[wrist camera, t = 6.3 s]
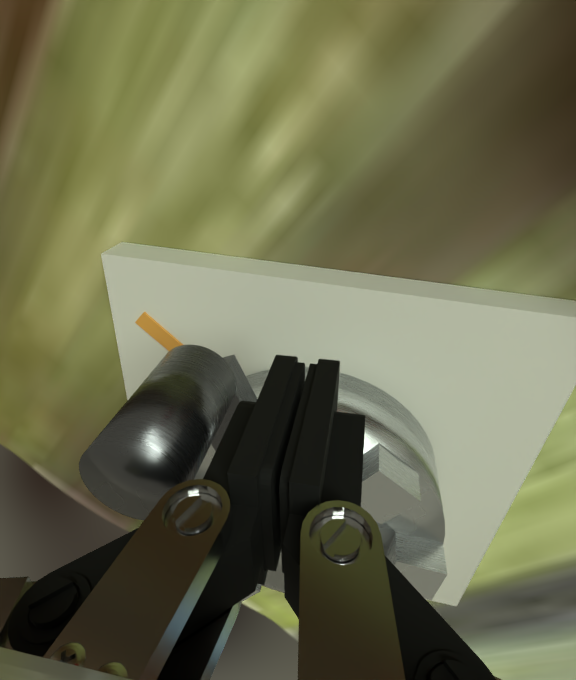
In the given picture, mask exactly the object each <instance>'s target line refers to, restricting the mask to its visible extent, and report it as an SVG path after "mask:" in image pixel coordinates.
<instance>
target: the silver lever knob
mask: <svg viewBox="0 0 576 680" xmlns="http://www.w3.org/2000/svg"><path fill="white" fill-rule="evenodd" d="M308 369H309V367H305V380H306V376H307V373H308ZM269 370H270V369H269ZM269 370H264V371H260V372H257V373H254V374H251V375H248V376H245V374H244V372H243V370H242V368H241V366H240V364H239V363H238V361H237V359H236V357H235V355H230V356H226V357H223V358H222V357H221V356H220V355H219V354H217V353H216V352H214V351H212V350H210V349H208V348H205V347H202V346H198V345H181V346H178V347H175V348H173V349H171V350H170V351H169V352H168V353H167V354H166V355H165V356H164V357H163V359H162V360H161V361H160V362H159V364H158V365H157V366H156V367H155V368H154V370H153V371H152V372H151V373H150V374H149V376H148V377H147V378H146V379H145V380H144V382H143V383H142V384H141V385H140V386H139V388H138V389H137V390H136V391H135V392H134V394H133V395H132V396H131V397H130V398H129V400H128V401H127V402H126V403H125V404H124V406H123V407H122V408H121V409H120V410H119V412H118V413H117V414H116V415H115V416H114V418H113V419H112V420H111V421H110V422H109V424H108V425H107V426H106V427H105V428H104V430H103V431H102V432H101V433H100V434H99V436H98V437H97V438H96V439H95V440H94V442H93V443H92V444H91V445H90V446H89V448H88V449H87V450H86V451H85V452H84V454H83V455H82V457H81V459H80V462H79V471H80V475H81V478H82V480H83V482H84V483H85V485H86V487H87V488H88V489H89V491H90V492H91V493H92V494H93V495H94V496H95V497H96V498H97V499H98V500H100V501H101V502H102V503H103V504H105V505H106V506H108V507H109V508H111V509H113V510H115V511H117V512H119V513H121V514H123V515H126V516H129V517H132V518H135V519H140V520H145V519H146V517H147V516H148V515H149V513H150V512H151V511H152V509H153V508H154V507H155V505H156V504H157V503H158V501H159V500H160V499H161V498H162V497H163V496H164V494H165V493H166V492H167V491H168V490H170V489H171V488H173V487H175V486H176V485H178V484H180V483H183V482H185V481H188V480H195V479H203V478H204V476H205V473H206V471H207V469H208V467H209V465H210V463H211V461H212V458H213V456H214V454H215V452H216V450H217V448H218V446H219V444H220V441H221V439H222V437H223V435H224V433H225V431H226V429H227V427H228V424H229V422H230V420H231V418H232V416H233V414H234V412H235V409H236V407H237V405H238V404H239V402H240V401H250V402H257V399H258V397H259V394H260V392H261V390H262V387H263V385H264V382H265V380H266V377H267V375H268V373H269ZM337 412H344V413H353V414H361V415H365V434H364V454H363V475H362V495H361V507H362V508H363V509H364V510H366V511H367V512H368V513H369V514H371V516H372V517H373V519H374V520H375V521H376V523H377V524H378V527H379V530H380V533H381V536H382V542H383V549H384V555H385V556H386V557H387V558H388V559H389V560H390V561H391V562H392V564H393V565H394V566H395V567H396V568H397V569H398V570H399V571H400V572H401V573H402V574H403V576H404V577H405V578H406V579H407V580H408V581H409V582H410V583H411V584H412V585H413V586H414V588H415V589H416V590H417V591H418V592H419V593H420V594H421V595H422V596H423V597H424V598H425V599H428V600H432V599H433V597H434V595H435V594H436V592H437V591H438V589H439V587H440V586H441V584H442V583H443V581H444V579H445V578H446V576H447V568H446V561H445V554H444V547H443V543H444V538H445V519H444V513H443V506H442V500H441V493H440V487H439V481H438V474H437V468H436V461H435V456H434V452H433V448H432V445H431V443H430V440H429V438H428V436H427V434H426V432H425V431H424V429H423V427H422V426H421V424H420V423H419V422H418V420H417V419H416V418H415V417H414V416H413V415H412V413H411V412H410V411H409V410H408V409H407V408H405V407H404V406H403V405H402V404H401V403H400V402H399V401H398V400H396V399H395V398H393V397H392V396H390V395H389V394H388V393H386V392H385V391H383V390H381V389H379V388H377V387H376V386H374V385H372V384H370V383H368V382H366V381H363V380H361V379H358V378H356V377H353V376H351V375H347V374H343V373H340V372H339V388H338V404H337ZM262 586H265V587H267V588H270V589H274V590H277V591H280V592H283V593H285V590H284V573H282V558H281V553H280V557H279V562H278V566H277V569H276V571H271V570H268V572H267V576H266V580H265V584H264V585H262ZM260 589H261V585H260V584H257V586H256V590H255V592H253V593H252V594H250V595H249V596H247V597H246V598H244V599H243V600H242V601H244V600H246V599H247V598H249V597H251V596H253V595H255V594H256V593H258V592H260Z"/></svg>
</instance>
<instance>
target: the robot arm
mask: <svg viewBox="0 0 576 680" xmlns="http://www.w3.org/2000/svg"><path fill="white" fill-rule="evenodd" d="M339 372H340V361H338V360H327V359H319V360H318V363H317V364H311V363H310V365H309V369H308V373H307V376H306V380H305V363H301V362H298V358H297V357H296V356H285V355H276V356H275V358H274V360H273V363H272V365H271V368H270V370H269V373H268V375H267V377H266V380H265V382H264V385H263V387H262V390H261V392H260V394H259V397H258V399H257V402H250V401H240V402H239V404H238V405H237V407H236V409H235V412H234V414H233V416H232V418H231V420H230V422H229V424H228V427H227V429H226V431H225V433H224V435H223V437H222V439H221V441H220V444H219V446H218V448H217V450H216V452H215V454H214V456H213V458H212V461H211V463H210V465H209V467H208V469H207V471H206V473H205V476H204V478H203V479H195V480H188V481H185V482H183V483H180V484H178V485H176V486H175V487H173V488H171V489H170V490H168V491H167V492H166V493H165V494H164V496H163V497H162V498H161V499H160V500H159V501H158V503H157V504H156V505H155V507H154V508H153V509H152V511H151V512H150V513H149V515H148V516H147V517H146V519H145V520H144V522H143V523H142V524H141V526H140V527H139V528H138V529H136V530H134V531H132V532H130V533H128V534H126V535H124V536H122V537H120V538H118V539H116V540H114V541H112V542H110V543H108V544H106V545H104V546H102V547H100V548H98V549H96V550H94V551H92V552H90V553H88V554H86V555H84V556H82V557H80V558H79V559H76V560H74V561H73V562H71V563H69V564H67V565H65V566H63V567H61V568H59V569H57V570H55V571H53V572H51V573H49V574H48V575H46V576H44V577H43V578H41V579H40V580H38V581H31V580H30V579H29V577H9V578H0V680H210V678H211V675H212V674H213V671H214V669H215V667H216V664H217V662H218V660H219V657H220V655H221V652H222V650H223V648H224V645H225V643H226V641H227V638H228V636H229V634H230V631H231V629H232V627H233V624H234V622H235V620H236V617H237V615H238V613H239V609H240V606H241V602H242V600H243V599H244V598H246V597H247V596H249V595H250V594H252V593H253V592H255V590H256V586H257V584H260V585H264V584H265V580H266V576H267V572H268V570H271V571H276V569H277V566H278V562H279V557H280V553H281V558H282V573H284V590H285V598H286V600H287V601H288V603H289V604H290V606H291V608H292V609H293V611H294V612H295V614H296V615H297V617H298V619H299V645H298V680H501V679H499V678H497V677H494V676H493V675H492V673H491V672H490V671H489V669H488V668H487V666H486V665H485V664H484V663H483V662H482V661H481V659H480V658H479V657H478V656H477V655H476V654H475V653H474V652H473V651H472V650H471V649H470V647H469V646H468V645H467V644H466V643H465V642H464V641H463V640H462V639H461V638H460V637H459V635H458V634H457V633H456V632H455V631H454V630H453V629H452V628H451V627H450V626H449V625H448V623H447V622H446V621H445V620H444V619H443V618H442V617H441V616H440V615H439V614H438V613H437V612H436V610H435V609H434V608H433V607H432V606H431V605H430V604H429V603H428V602H427V601H426V600H425V598H424V597H423V596H422V595H421V594H420V593H419V592H418V591H417V590H416V589H415V588H414V586H413V585H412V584H411V583H410V582H409V581H408V580H407V579H406V578H405V577H404V576H403V574H402V573H401V572H400V571H399V570H398V569H397V568H396V567H395V566H394V565H393V564H392V562H391V561H390V560H389V559H388V558H387V557H386V556H385V555H384V549H383V542H382V536H381V533H380V530H379V527H378V524H377V523H376V521H375V520H374V519H373V517H372V516H371V514H369V513H368V512H367V511H366V510H364V509H363V508H362V507H361V495H362V475H363V454H364V434H365V415H361V414H353V413H344V412H337V404H338V388H339Z"/></svg>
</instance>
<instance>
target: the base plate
mask: <svg viewBox="0 0 576 680" xmlns="http://www.w3.org/2000/svg"><path fill="white" fill-rule="evenodd" d="M101 256H102V262H103V267H104V273H105V278H106V284H107V289H108V295H109V300H110V306H111V311H112V317H113V322H114V328H115V333H116V339H117V345H118V350H119V356H120V361H121V367H122V372H123V378H124V383H125V389H126V394H127V400H129V398H130V397H131V396H132V395H133V394H134V392H135V391H136V390H137V389H138V388H139V386H140V385H141V384H142V383H143V382H144V380H145V379H146V378H147V377H148V376H149V374H150V373H151V372H152V371H153V370H154V368H155V367H156V366H157V365H158V364H159V362H160V361H161V360H162V359H163V357H164V356H165V355H166V354H167V353H168V352H169V351H170V350H171V349H173V348H175V347H178V346H181V345H198V346H202V347H205V348H208V349H210V350H212V351H214V352H216V353H217V354H219V355H220V356H221V357H222V358H223V357H226V356H230V355H235V357H236V359H237V361H238V363H239V364H240V366H241V368H242V370H243V372H244V374H245V376H248V375H251V374H254V373H257V372H260V371H264V370H269V369H270V368H271V365H272V363H273V360H274V358H275V356H276V355H285V356H296V357H297V358H298V362H301V363H305V367H309V365H310V363H311V364H317V363H318V360H319V359H327V360H338V361H340V373H343V374H347V375H351V376H353V377H356V378H358V379H361V380H363V381H366V382H368V383H370V384H372V385H374V386H376V387H377V388H379V389H381V390H383V391H385V392H386V393H388V394H389V395H390V396H392V397H393V398H395V399H396V400H398V401H399V402H400V403H401V404H402V405H403V406H404V407H405V408H407V409H408V410H409V411H410V412H411V413H412V415H413V416H414V417H415V418H416V419H417V420H418V422H419V423H420V424H421V426H422V427H423V429H424V431H425V432H426V434H427V436H428V438H429V440H430V443H431V445H432V448H433V452H434V456H435V461H436V468H437V474H438V481H439V487H440V493H441V500H442V506H443V513H444V519H445V538H444V543H443V547H444V554H445V561H446V568H447V576H446V578H445V579H444V581H443V583H442V584H441V586H440V587H439V589H438V591H437V592H436V594H435V595H434V597H433V599H432V600H431V601H435V602H440V603H444V604H448V605H453V606H457V605H458V603H459V601H460V599H461V597H462V595H463V593H464V592H465V590H466V588H467V586H468V584H469V582H470V580H471V579H472V577H473V575H474V573H475V571H476V569H477V567H478V566H479V564H480V562H481V560H482V558H483V556H484V554H485V553H486V551H487V549H488V547H489V545H490V543H491V541H492V540H493V538H494V536H495V534H496V532H497V530H498V528H499V527H500V525H501V523H502V521H503V519H504V517H505V515H506V514H507V512H508V510H509V508H510V506H511V504H512V502H513V501H514V499H515V497H516V495H517V493H518V491H519V489H520V488H521V486H522V484H523V482H524V480H525V478H526V476H527V475H528V473H529V471H530V469H531V467H532V465H533V463H534V462H535V460H536V458H537V456H538V454H539V452H540V450H541V449H542V447H543V445H544V443H545V441H546V439H547V437H548V436H549V434H550V432H551V430H552V428H553V426H554V424H555V423H556V421H557V419H558V417H559V415H560V413H561V411H562V410H563V408H564V406H565V404H566V402H567V400H568V398H569V397H570V395H571V393H572V391H573V389H574V387H575V385H576V301H573V300H565V299H558V298H550V297H542V296H535V295H527V294H519V293H511V292H504V291H496V290H488V289H481V288H473V287H465V286H458V285H450V284H442V283H434V282H427V281H419V280H411V279H404V278H396V277H388V276H380V275H373V274H365V273H357V272H350V271H342V270H334V269H327V268H319V267H311V266H303V265H296V264H288V263H280V262H273V261H265V260H257V259H249V258H242V257H234V256H226V255H219V254H211V253H203V252H196V251H188V250H180V249H172V248H165V247H157V246H149V245H142V244H134V243H126V242H121V243H119V244H117V245H116V246H114V247H112V248H110V249H108V250H107V251H105V252H103V253H101ZM427 600H428V599H427Z"/></svg>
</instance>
